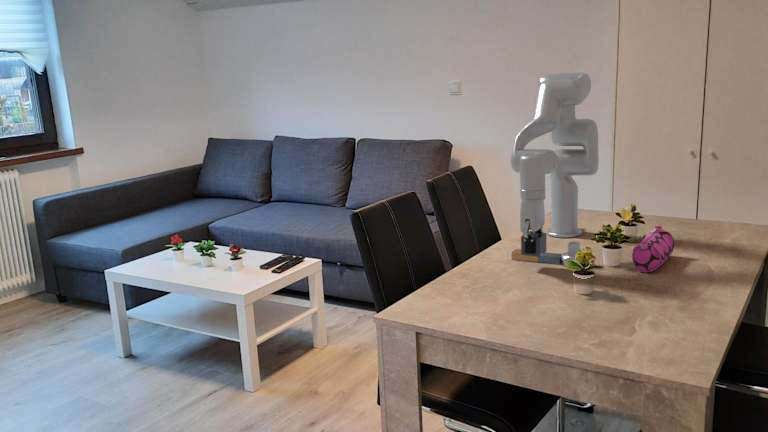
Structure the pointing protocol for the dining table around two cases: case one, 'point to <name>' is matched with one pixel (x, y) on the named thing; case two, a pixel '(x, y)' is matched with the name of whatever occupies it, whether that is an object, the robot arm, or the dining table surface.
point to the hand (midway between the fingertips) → (533, 249)
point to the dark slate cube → (539, 244)
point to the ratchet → (550, 255)
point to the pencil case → (653, 250)
